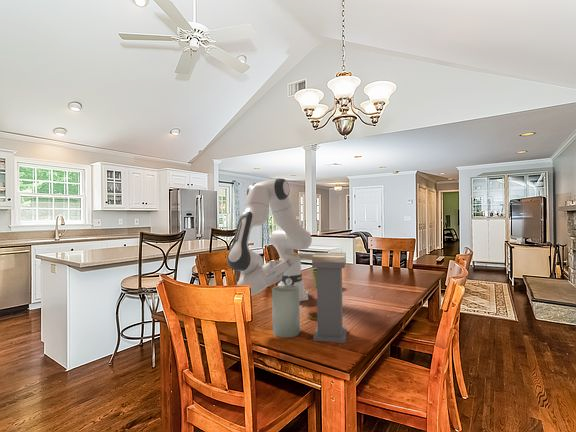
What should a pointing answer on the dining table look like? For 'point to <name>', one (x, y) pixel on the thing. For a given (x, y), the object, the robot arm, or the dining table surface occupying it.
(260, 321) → the dining table surface
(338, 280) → the plinth
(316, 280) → the plant pot
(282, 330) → the crock
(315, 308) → the burger
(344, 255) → the cutting board
